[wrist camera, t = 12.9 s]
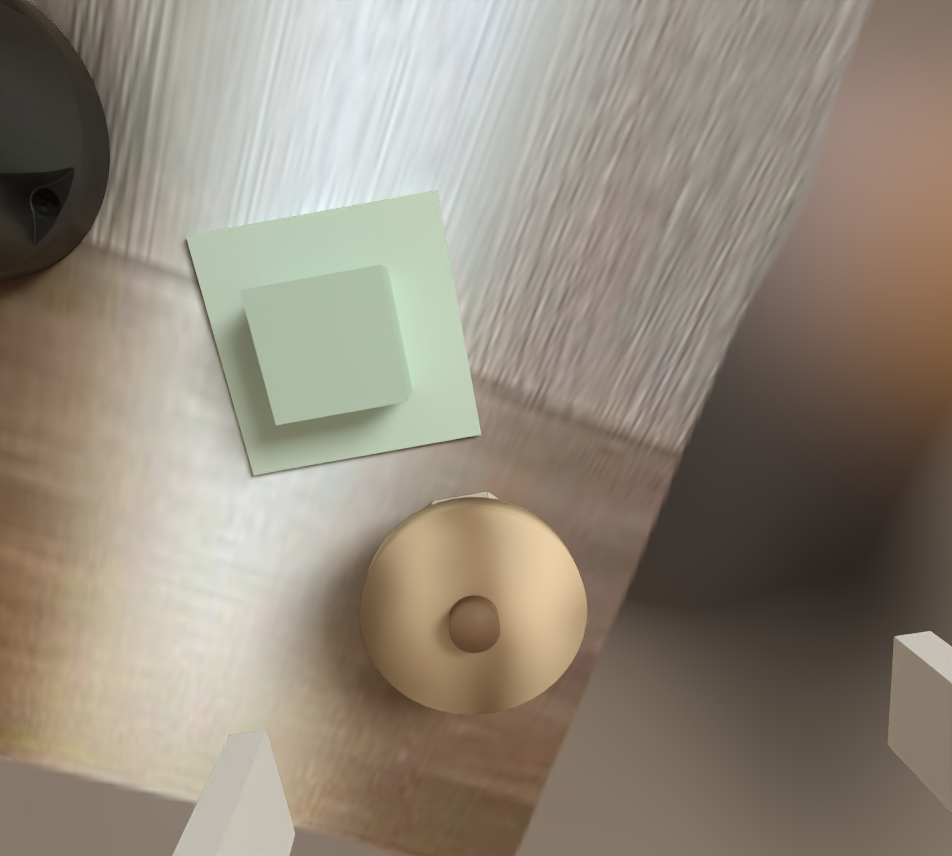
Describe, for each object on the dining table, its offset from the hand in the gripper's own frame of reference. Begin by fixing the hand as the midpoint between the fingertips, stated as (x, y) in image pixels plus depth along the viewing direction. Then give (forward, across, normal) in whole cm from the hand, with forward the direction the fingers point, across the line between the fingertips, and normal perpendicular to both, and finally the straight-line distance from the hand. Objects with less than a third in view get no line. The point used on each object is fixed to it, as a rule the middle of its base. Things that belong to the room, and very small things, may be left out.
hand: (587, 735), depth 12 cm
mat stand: (+24, -8, +7) cm, 27 cm away
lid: (+19, -3, -8) cm, 21 cm away
